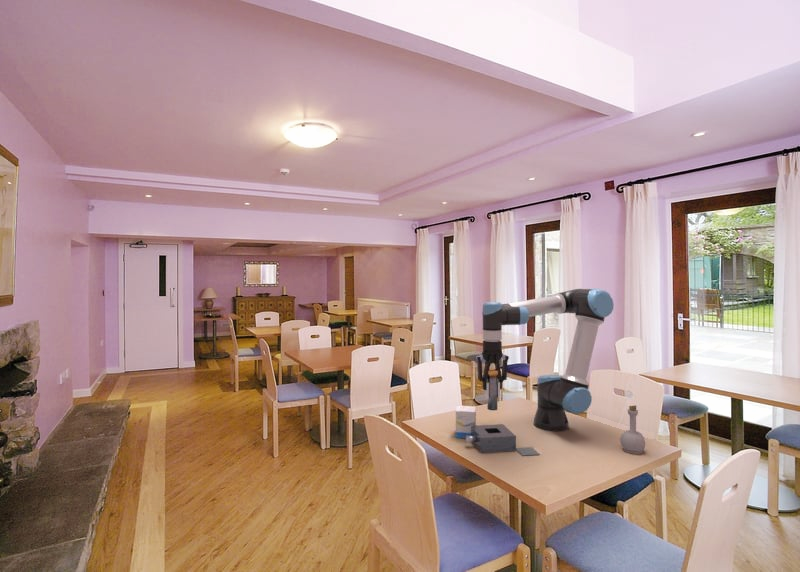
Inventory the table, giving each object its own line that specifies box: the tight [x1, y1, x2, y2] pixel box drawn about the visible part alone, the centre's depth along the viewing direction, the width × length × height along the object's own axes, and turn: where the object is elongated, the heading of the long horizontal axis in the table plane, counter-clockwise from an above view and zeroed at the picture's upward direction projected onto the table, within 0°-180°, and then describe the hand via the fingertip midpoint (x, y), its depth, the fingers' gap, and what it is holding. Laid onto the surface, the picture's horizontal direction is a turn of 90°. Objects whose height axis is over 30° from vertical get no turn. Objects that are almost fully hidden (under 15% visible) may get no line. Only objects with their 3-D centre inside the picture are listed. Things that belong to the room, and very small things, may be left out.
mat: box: [516, 446, 541, 457], centre depth 166 cm, size 7×7×1 cm
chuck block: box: [465, 423, 517, 454], centre depth 173 cm, size 18×14×6 cm
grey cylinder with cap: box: [486, 367, 499, 411], centre depth 173 cm, size 5×5×16 cm
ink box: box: [455, 405, 477, 439], centre depth 185 cm, size 9×8×12 cm
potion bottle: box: [619, 405, 646, 455], centre depth 167 cm, size 9×9×18 cm
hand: (492, 397), depth 173 cm, fingers closed on grey cylinder with cap, 4 cm apart
